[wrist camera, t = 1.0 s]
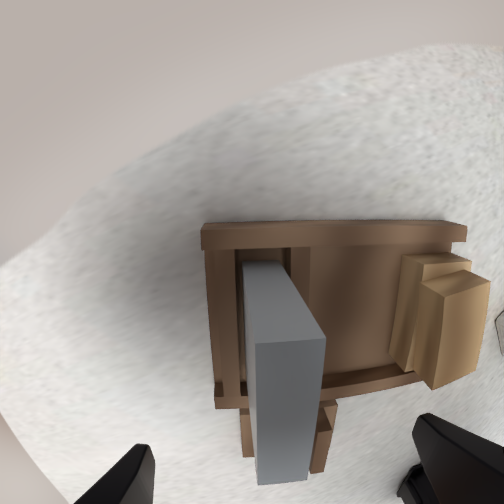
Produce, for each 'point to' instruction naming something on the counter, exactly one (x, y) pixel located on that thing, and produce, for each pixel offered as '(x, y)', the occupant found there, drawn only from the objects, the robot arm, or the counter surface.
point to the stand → (320, 439)
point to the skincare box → (501, 331)
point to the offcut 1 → (416, 299)
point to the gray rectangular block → (280, 372)
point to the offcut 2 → (450, 326)
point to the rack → (319, 293)
